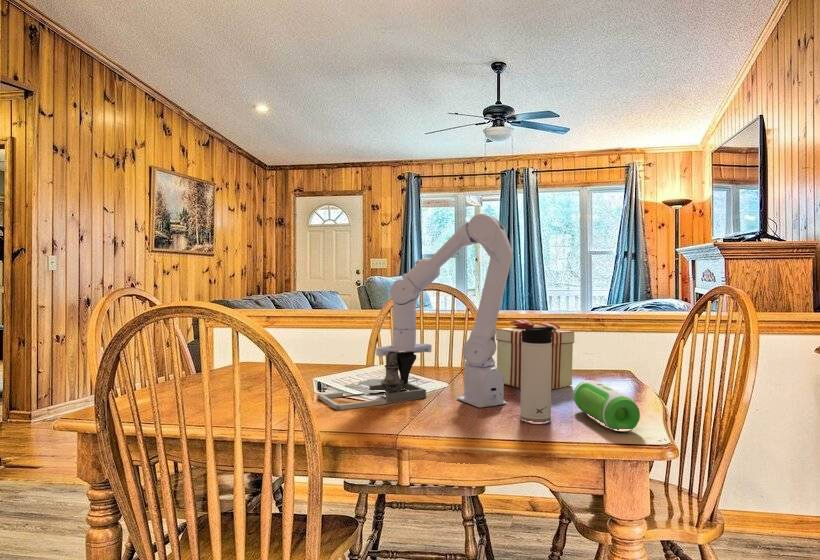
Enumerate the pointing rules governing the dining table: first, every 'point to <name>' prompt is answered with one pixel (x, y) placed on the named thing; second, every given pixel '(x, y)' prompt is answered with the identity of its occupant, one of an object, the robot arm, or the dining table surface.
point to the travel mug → (536, 374)
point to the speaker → (606, 405)
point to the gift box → (511, 353)
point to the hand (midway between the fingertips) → (404, 382)
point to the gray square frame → (350, 405)
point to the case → (402, 393)
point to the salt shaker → (392, 374)
